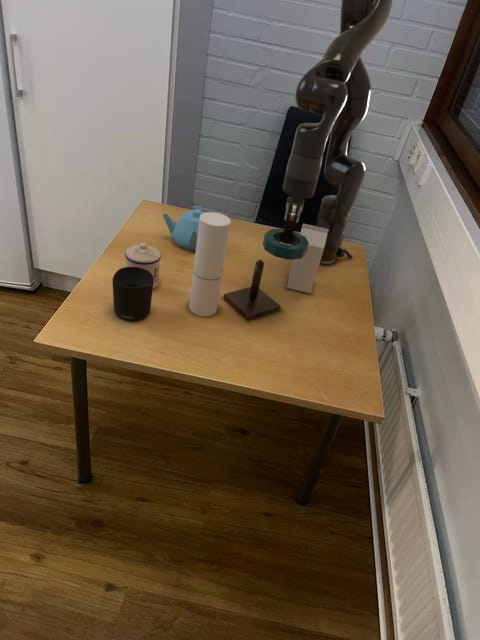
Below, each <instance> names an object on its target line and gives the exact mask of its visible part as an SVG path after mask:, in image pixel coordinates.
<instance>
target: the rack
mask: <svg viewBox="0 0 480 640" xmlns="http://www.w3.org/2000/svg"><path fill="white" fill-rule="evenodd" d="M264 266H265V262H264V260H262V259H257V260H256V261H255V265H254V270H253V273H252V279H251V284H250V286H248V287H245V288H241V289H237V290H234V291H230V292H226V293H224V294H223V300H224V301H225V302H226V303H227V304H228V305H230V306H231V307H232V308H233V309H234V310H235V311H236V312H237V313H238V314H240V316H242V317H243V319H245V320H246V321H248V322H249V321H252V320H255V319H258V318H261V317H264V316H267V315H270V314H273V313H275V312H279V311H280V310H281V305H280V304H279V303H278V302H276V301H275V300H274V299H273V298H272V297H270V296H269V295H268V294H267V293H265V292H264V291H263V290H262V289H261V288H260V286H261V281H262V278H263V277H262V276H263V272H264Z"/></svg>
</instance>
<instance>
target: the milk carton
mask: <svg viewBox="0 0 480 640" xmlns="http://www.w3.org/2000/svg"><path fill="white" fill-rule="evenodd" d="M327 233H328V229H325V228H320V227H316V226H315V225H311V224H307V223H302V226H301V229H300V233H299V234H301V235H303V236H304V237H306V239H307V241H308V242H309V245H308V249H307V253H306V254H305V255H304V256H303V257H302V258H301V259H294V260H293V261H292V265H291V269H290V272H289V276H288V280H287V285H286V288H287V289H291V290H294V291H298V292H303V293H306V294H311V293H312V291H313V287H314V284H315V281H316V277H317V273H318V269H319V267H320V264H319V263H320V260H321V257H322V253H323V250H324V246H325V242H326V238H327Z"/></svg>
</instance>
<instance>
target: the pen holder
mask: <svg viewBox="0 0 480 640" xmlns="http://www.w3.org/2000/svg"><path fill="white" fill-rule="evenodd" d="M111 279H112V281H111V282H112V298H113V299H112V300H113V301H112V302H113V312H114V314H115V315H116V317H118V319H121V320H123V321H127V322H139V321H142V320H145V319H146V318H147V317H149V315H150V313H151V307H152V299H153V291H154V289H153V276H152V274H151V273H150V272H149V271H148V270H146V269H143V268H139V267H126V266H124V267H121V268H119V269H117V271H116V272H115V273H114V274H113V276H112V278H111Z"/></svg>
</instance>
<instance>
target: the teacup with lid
mask: <svg viewBox="0 0 480 640" xmlns="http://www.w3.org/2000/svg"><path fill="white" fill-rule="evenodd" d="M124 256H125V267H139V268H143V269H146V270H148V271H149V272H150V273H151V274H152V276H153V290H154V289H155V288H156V287H157V286H158V284H159V277H160V276H159V275H160V262H161V261H160V260H161V259H162V255H161V253H160V251H159V250H158V249H157V247H154V246H151V245H148V244H147V243H146V242H140V243H139V244H134V245H132V246H129V247H128V248H127V249H126V250H125V253H124Z"/></svg>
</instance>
